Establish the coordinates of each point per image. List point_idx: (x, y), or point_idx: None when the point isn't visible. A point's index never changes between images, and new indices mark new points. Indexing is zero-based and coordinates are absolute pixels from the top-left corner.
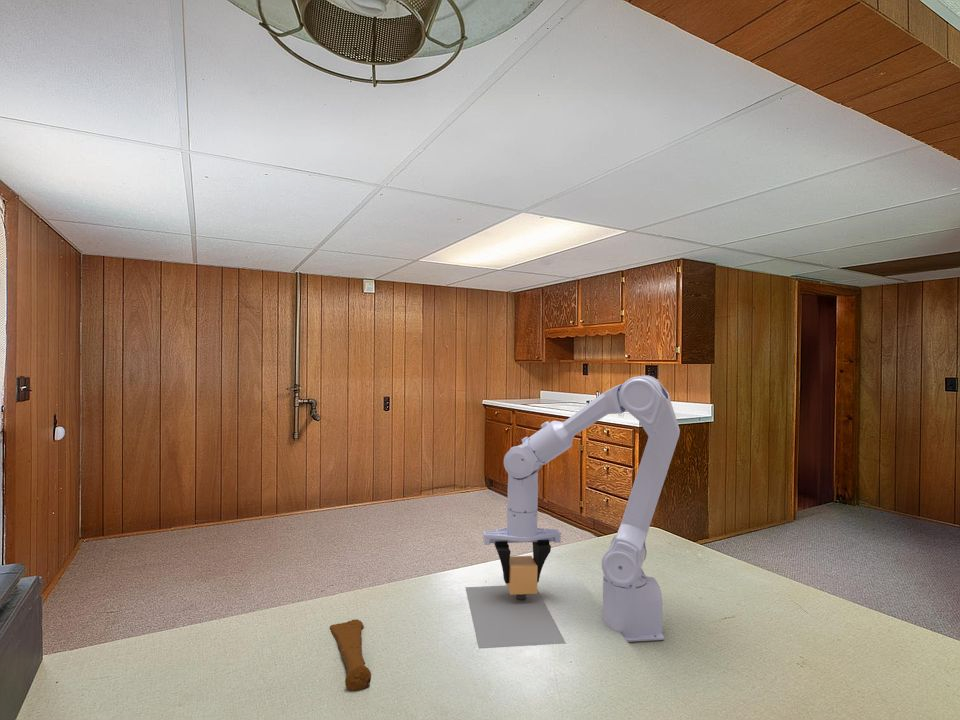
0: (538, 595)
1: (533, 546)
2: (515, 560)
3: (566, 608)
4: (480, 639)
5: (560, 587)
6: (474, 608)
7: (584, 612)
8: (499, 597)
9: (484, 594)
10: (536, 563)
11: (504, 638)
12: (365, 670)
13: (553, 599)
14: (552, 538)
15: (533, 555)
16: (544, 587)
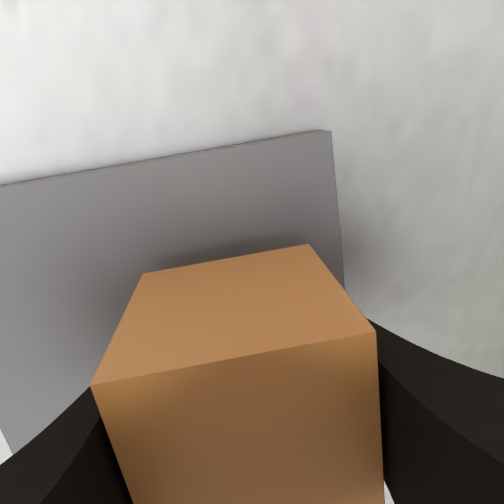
0: (330, 269)
1: (458, 471)
2: (198, 457)
3: (435, 285)
4: None
5: (473, 59)
6: (17, 418)
7: (497, 309)
8: (125, 307)
9: (36, 285)
10: (389, 471)
11: None
12: None
13: (399, 208)
14: None
15: (398, 396)
16: (383, 65)
